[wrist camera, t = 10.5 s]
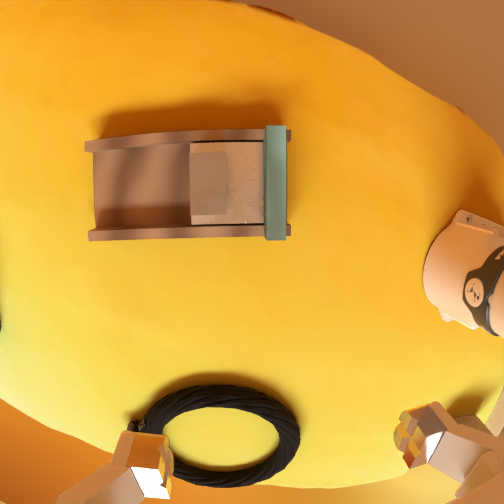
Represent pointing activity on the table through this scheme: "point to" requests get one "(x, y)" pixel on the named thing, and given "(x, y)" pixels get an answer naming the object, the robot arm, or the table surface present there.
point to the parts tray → (497, 418)
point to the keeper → (226, 182)
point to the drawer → (177, 185)
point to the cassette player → (472, 423)
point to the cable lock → (227, 399)
